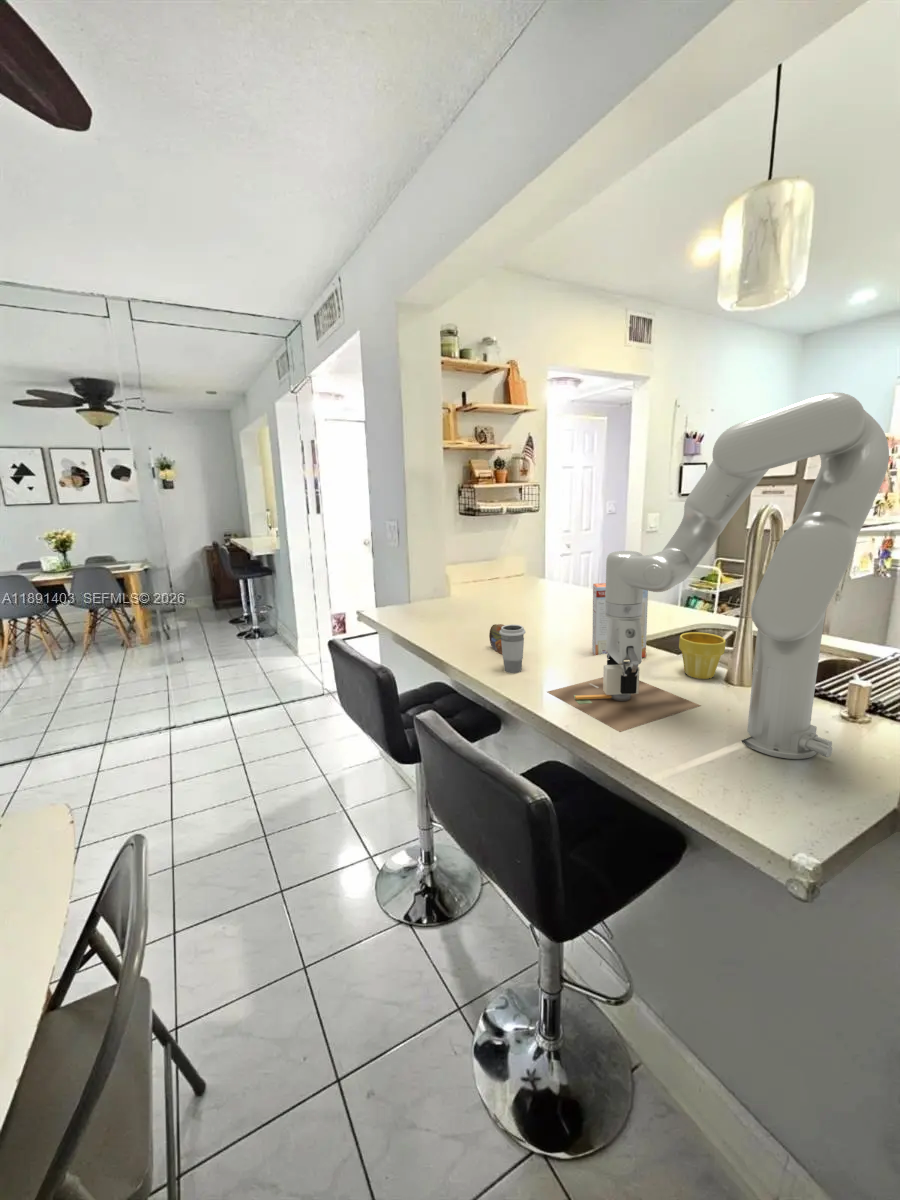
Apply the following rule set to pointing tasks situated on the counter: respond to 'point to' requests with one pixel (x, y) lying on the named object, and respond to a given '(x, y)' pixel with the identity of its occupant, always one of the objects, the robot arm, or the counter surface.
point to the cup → (512, 647)
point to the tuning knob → (612, 685)
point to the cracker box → (602, 620)
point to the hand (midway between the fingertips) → (620, 684)
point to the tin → (496, 637)
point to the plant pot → (701, 653)
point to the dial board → (624, 704)
